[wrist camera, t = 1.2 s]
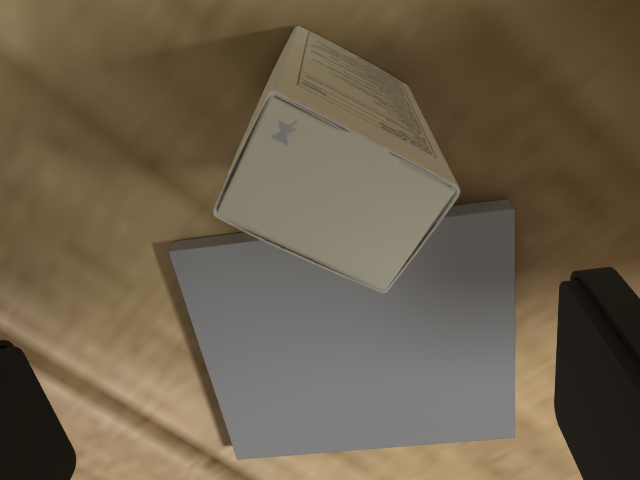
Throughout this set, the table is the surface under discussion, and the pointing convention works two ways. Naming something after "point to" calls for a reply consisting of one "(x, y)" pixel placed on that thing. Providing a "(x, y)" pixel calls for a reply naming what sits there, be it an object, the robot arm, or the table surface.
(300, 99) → the skincare box
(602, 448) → the robot arm
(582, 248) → the table surface
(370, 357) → the slate board
